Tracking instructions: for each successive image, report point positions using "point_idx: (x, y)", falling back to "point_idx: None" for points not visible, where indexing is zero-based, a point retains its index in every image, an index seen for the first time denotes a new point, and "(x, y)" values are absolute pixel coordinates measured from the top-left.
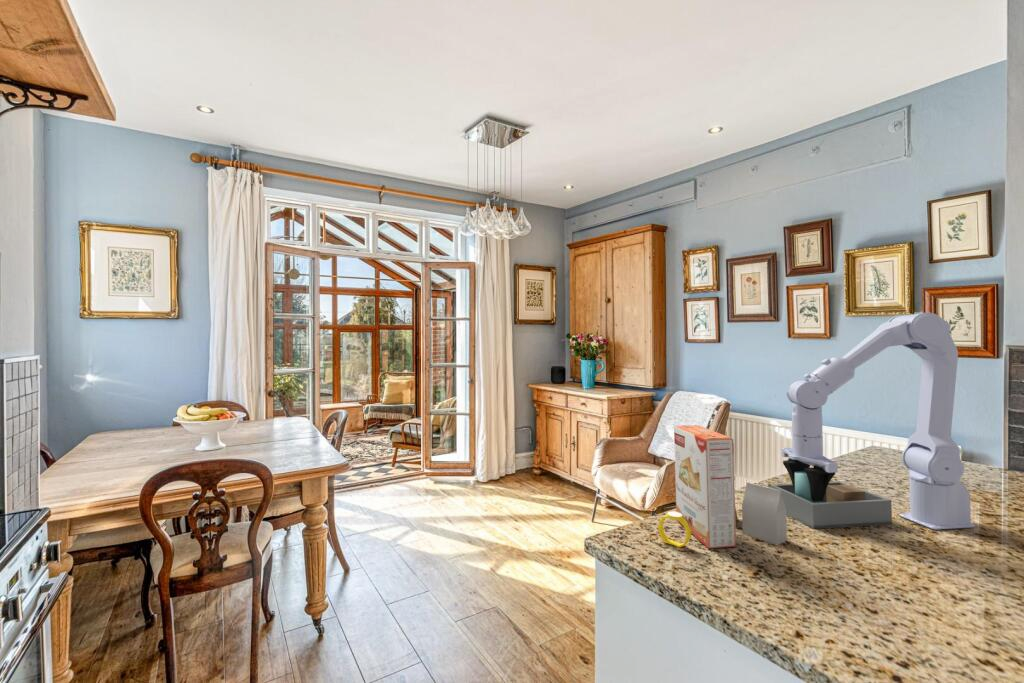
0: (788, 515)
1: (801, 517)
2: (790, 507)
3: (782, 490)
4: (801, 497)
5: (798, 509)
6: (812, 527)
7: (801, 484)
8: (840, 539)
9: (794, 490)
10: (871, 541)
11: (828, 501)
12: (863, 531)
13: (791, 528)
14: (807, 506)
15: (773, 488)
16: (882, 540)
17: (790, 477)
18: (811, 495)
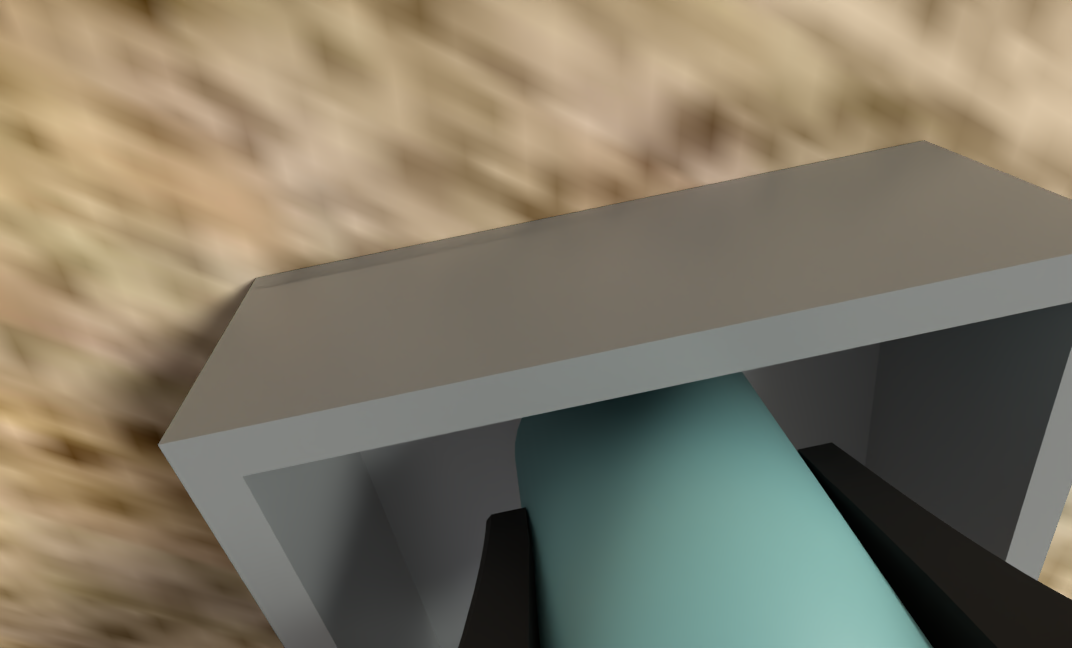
0: (628, 203)
1: (423, 266)
2: (616, 250)
3: (849, 300)
4: (600, 437)
5: (473, 292)
6: (269, 280)
7: (648, 597)
8: (32, 389)
9: (844, 456)
10: (82, 563)
11: None
12: None
13: (215, 46)
14: (292, 379)
15: (1046, 238)
16: (134, 621)
17: (1019, 574)
18: (516, 552)
